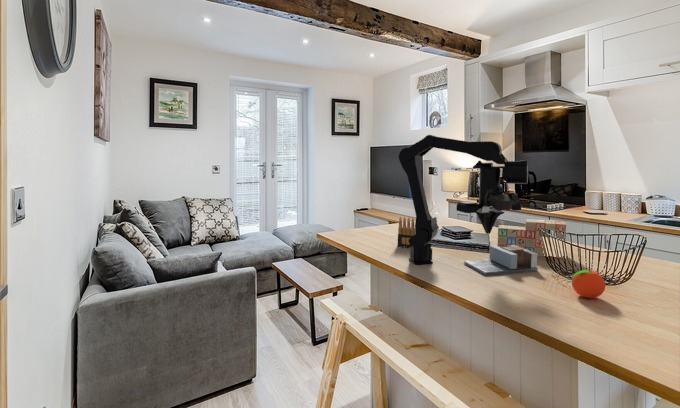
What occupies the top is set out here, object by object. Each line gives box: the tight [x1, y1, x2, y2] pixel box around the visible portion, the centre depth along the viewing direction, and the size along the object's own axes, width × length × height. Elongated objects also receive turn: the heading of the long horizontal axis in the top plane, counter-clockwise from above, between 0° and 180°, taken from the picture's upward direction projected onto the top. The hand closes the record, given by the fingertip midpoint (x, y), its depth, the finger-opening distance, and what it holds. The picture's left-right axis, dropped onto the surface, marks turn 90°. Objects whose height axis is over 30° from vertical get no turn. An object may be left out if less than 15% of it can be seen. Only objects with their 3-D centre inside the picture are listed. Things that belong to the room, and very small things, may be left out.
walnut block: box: [502, 246, 524, 265], centre depth 113 cm, size 5×4×5 cm
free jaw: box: [489, 245, 517, 269], centre depth 112 cm, size 2×11×4 cm, turn 10°
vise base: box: [463, 245, 539, 277], centre depth 112 cm, size 18×12×6 cm, turn 100°
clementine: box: [570, 269, 606, 299], centre depth 88 cm, size 8×7×7 cm
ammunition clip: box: [396, 216, 415, 248], centre depth 139 cm, size 11×2×12 cm, turn 59°
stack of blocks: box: [497, 218, 567, 257], centre depth 127 cm, size 21×6×12 cm, turn 62°
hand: (487, 233), depth 108 cm, fingers closed
